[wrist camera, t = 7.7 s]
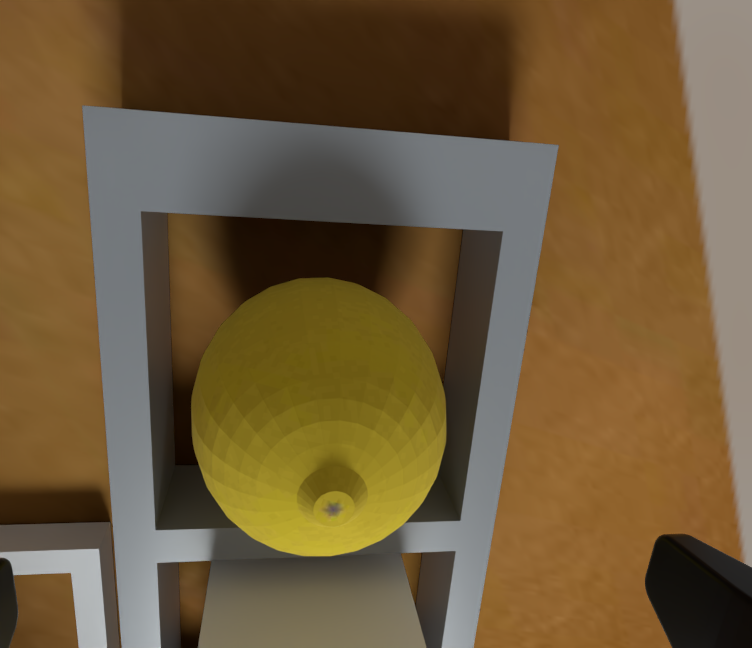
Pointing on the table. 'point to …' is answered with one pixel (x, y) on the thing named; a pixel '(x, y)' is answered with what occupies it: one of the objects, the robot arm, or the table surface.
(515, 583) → the table surface
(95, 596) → the frame
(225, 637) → the single plug block
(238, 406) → the lemon
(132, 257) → the grey double frame tray
